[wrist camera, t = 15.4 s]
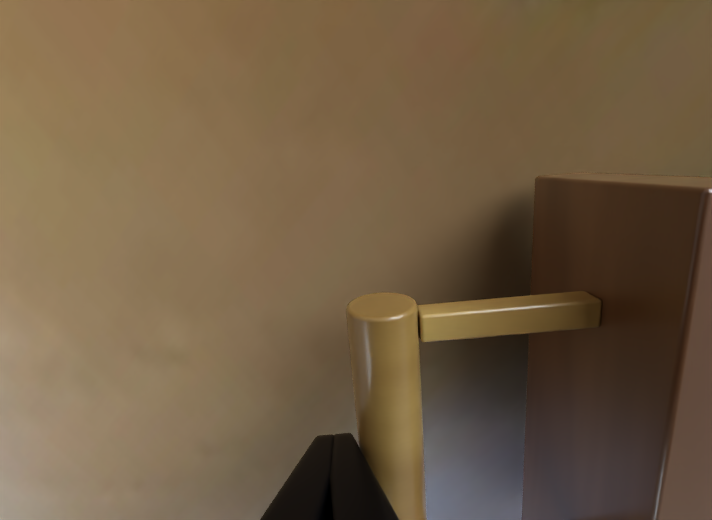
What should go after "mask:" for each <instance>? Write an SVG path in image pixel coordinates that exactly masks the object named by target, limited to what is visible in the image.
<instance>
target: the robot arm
mask: <svg viewBox="0 0 712 520" xmlns="http://www.w3.org/2000/svg"><path fill="white" fill-rule="evenodd" d="M260 520H399V518H398V516H397V514H396V513H395V511H394V509H393V507H392V505H391V504H390V502H389V500H388V498H387V496H386V495H385V493H384V491H383V489H382V487H381V486H380V484H379V482H378V480H377V478H376V477H375V475H374V473H373V471H372V469H371V467H370V466H369V464H368V462H367V460H366V458H365V457H364V455H363V453H362V451H361V449H360V448H359V446H358V444H357V442H356V440H355V439H354V437H353V435H352V434H351V433H342V434H335V435H332V434H331V435H320V436H317V437H316V438H315V439H314V441H313V442H312V443H311V445H310V446H309V448H308V449H307V451H306V452H305V454H304V455H303V457H302V458H301V460H300V461H299V463H298V464H297V466H296V467H295V469H294V470H293V472H292V473H291V475H290V476H289V478H288V479H287V481H286V482H285V483H284V485H283V486H282V488H281V489H280V491H279V492H278V494H277V495H276V497H275V498H274V500H273V501H272V503H271V504H270V506H269V507H268V509H267V510H266V512H265V513H264V515H263V516H262V518H261V519H260Z"/></svg>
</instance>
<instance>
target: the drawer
mask: <svg viewBox="0 0 712 520" xmlns="http://www.w3.org/2000/svg"><path fill="white" fill-rule="evenodd" d="M346 316H347V326H348V336H349V347H350V357H351V367H352V377H353V388H354V398H355V408H356V419H357V429H358V439H359V448H360V449H361V451H362V453H363V455H364V457H365V458H366V460H367V462H368V464H369V466H370V467H371V469H372V471H373V473H374V475H375V477H376V478H377V480H378V482H379V484H380V486H381V487H382V489H383V491H384V493H385V495H386V496H387V498H388V500H389V502H390V504H391V505H392V507H393V509H394V511H395V513H396V514H397V516H398V518H399V520H427V512H426V489H425V466H424V443H423V420H422V397H421V374H420V351H419V337H420V339H421V341H422V342H437V341H448V340H460V339H471V338H483V337H494V336H506V335H517V334H529V345H528V370H527V395H526V420H525V445H524V470H523V495H522V520H712V177H689V176H663V175H636V174H610V173H584V172H578V173H567V174H555V175H543V176H538V177H536V179H535V194H534V219H533V245H532V270H531V295H530V296H518V297H506V298H495V299H483V300H472V301H460V302H449V303H437V304H426V305H417V304H416V302H415V300H414V299H413V298H411V297H409V296H406V295H403V294H398V293H387V292H385V293H373V294H368V295H364V296H361V297H358V298H356V299H354V300H352V301H351V302H350V303H349V304H348V306H347V309H346Z"/></svg>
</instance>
